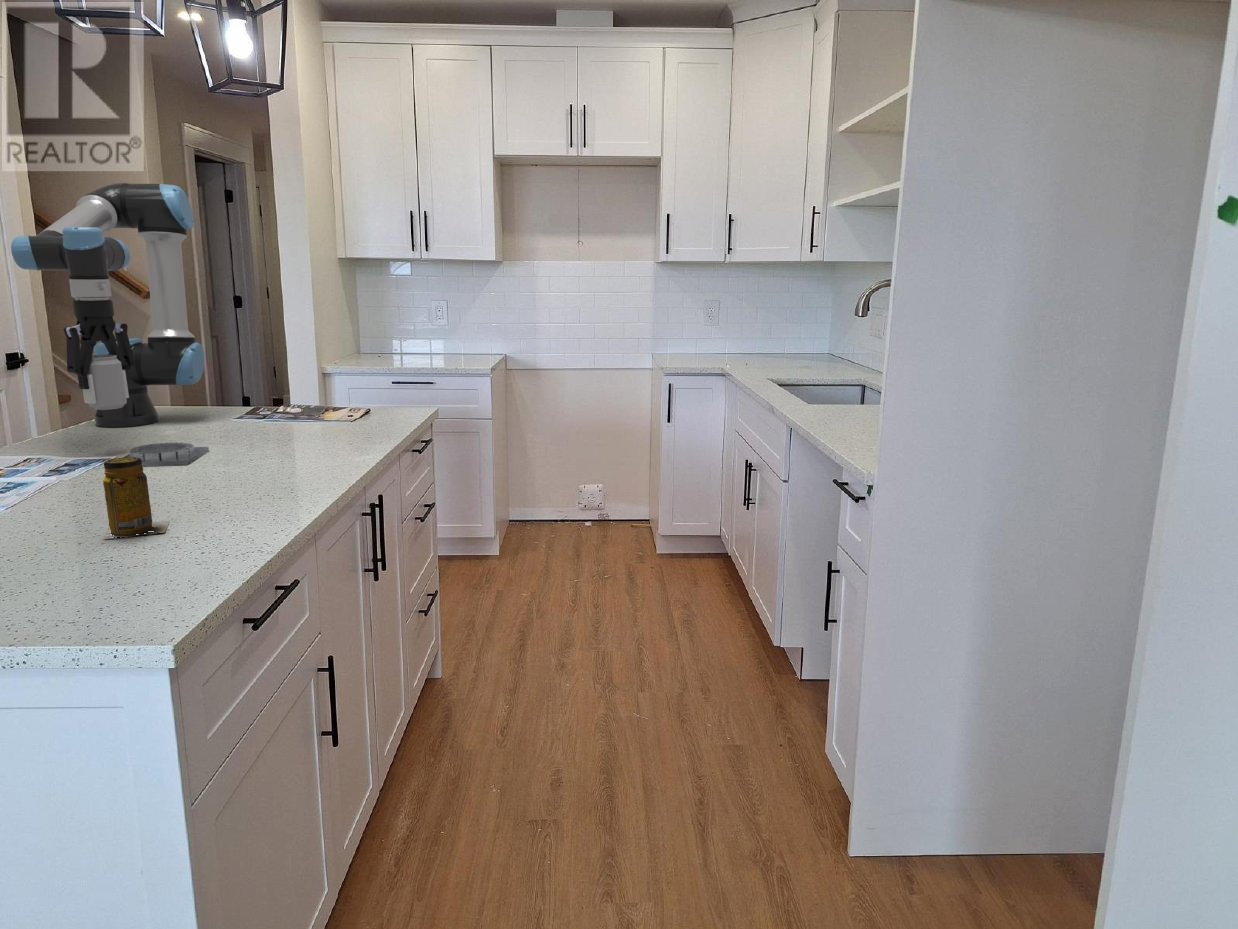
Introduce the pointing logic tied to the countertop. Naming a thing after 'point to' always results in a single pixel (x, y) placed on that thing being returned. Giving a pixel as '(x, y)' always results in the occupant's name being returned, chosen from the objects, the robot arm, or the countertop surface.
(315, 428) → the countertop surface
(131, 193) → the robot arm
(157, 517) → the countertop surface
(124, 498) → the condiment
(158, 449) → the duct flange
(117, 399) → the can
